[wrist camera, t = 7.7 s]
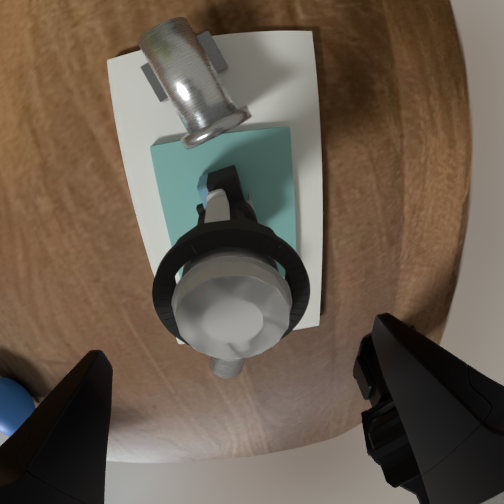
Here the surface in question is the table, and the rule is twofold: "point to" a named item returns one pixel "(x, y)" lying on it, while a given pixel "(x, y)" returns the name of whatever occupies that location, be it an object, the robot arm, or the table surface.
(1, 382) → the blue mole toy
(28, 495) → the robot arm
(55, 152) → the table surface
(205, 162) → the white rectangular board
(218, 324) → the push button
